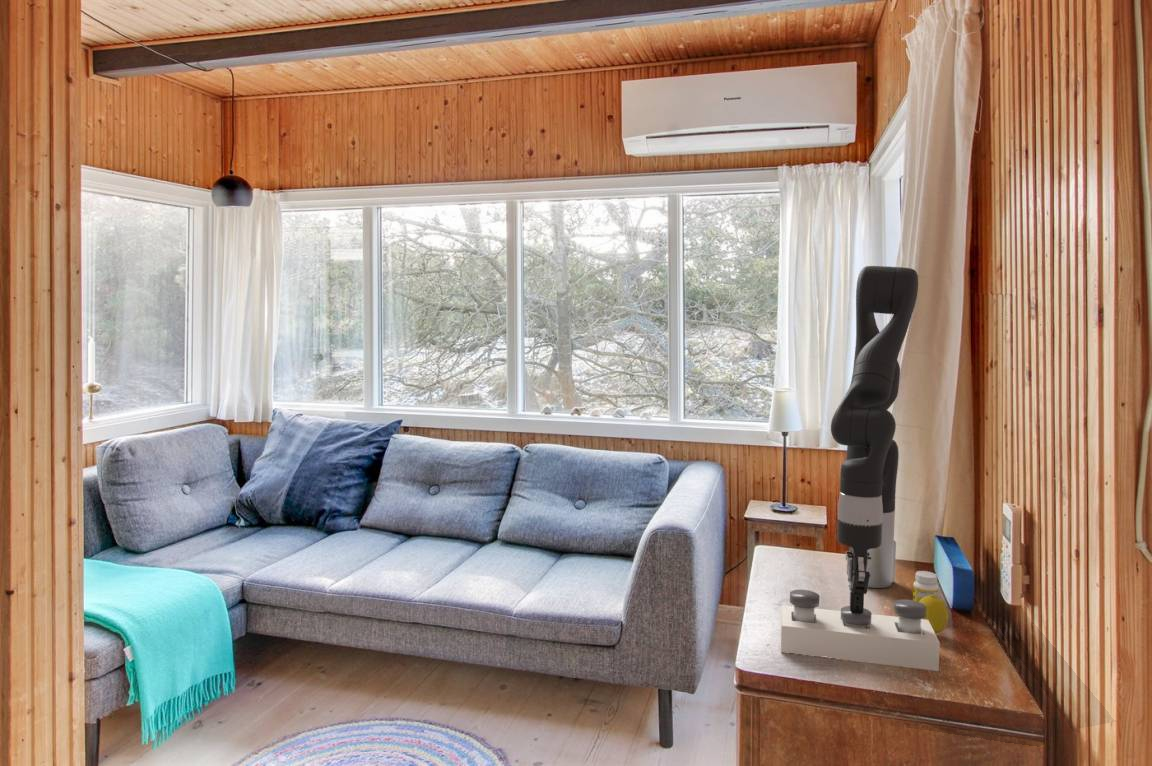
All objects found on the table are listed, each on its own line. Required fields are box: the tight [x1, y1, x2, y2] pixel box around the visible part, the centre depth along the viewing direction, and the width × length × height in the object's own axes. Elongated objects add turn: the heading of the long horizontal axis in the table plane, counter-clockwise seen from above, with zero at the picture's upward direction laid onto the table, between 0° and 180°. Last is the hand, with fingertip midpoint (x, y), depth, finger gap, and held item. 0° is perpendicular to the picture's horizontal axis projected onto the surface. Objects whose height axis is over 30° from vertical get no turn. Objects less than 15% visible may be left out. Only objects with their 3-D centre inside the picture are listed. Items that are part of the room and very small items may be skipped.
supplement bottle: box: [912, 570, 940, 602], centre depth 149 cm, size 5×5×8 cm
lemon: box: [919, 595, 949, 635], centre depth 139 cm, size 6×6×8 cm
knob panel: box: [780, 604, 941, 672], centre depth 133 cm, size 26×10×5 cm, turn 75°
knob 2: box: [893, 598, 926, 634], centre depth 130 cm, size 5×5×6 cm
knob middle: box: [840, 605, 872, 629], centre depth 133 cm, size 5×5×6 cm
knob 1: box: [789, 589, 820, 623], centre depth 135 cm, size 5×5×6 cm
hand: (856, 611), depth 132 cm, fingers closed
